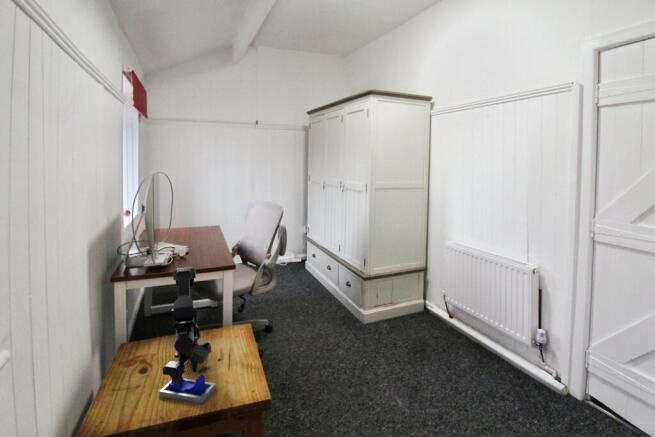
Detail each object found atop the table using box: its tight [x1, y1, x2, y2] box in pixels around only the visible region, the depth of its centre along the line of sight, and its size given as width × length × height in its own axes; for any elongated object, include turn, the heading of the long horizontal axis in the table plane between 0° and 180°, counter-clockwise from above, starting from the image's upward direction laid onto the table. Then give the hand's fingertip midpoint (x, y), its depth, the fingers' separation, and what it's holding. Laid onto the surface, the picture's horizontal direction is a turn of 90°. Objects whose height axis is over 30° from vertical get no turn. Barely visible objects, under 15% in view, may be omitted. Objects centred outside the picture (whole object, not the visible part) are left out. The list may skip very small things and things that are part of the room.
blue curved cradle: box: [169, 374, 206, 396], centre depth 132 cm, size 12×4×6 cm, turn 73°
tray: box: [158, 377, 217, 405], centre depth 133 cm, size 17×9×2 cm, turn 77°
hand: (187, 379), depth 132 cm, fingers open, 9 cm apart
